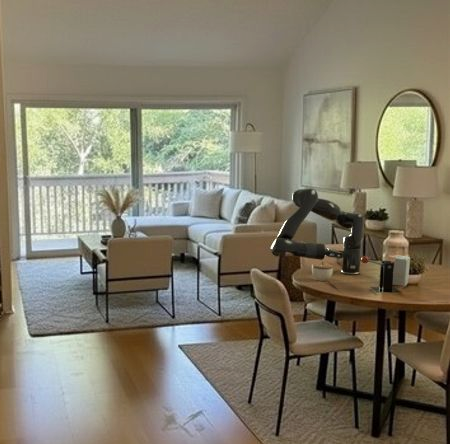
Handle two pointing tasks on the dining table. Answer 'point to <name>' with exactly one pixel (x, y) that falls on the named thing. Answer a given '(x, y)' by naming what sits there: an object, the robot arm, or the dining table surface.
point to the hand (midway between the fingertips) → (347, 254)
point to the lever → (366, 260)
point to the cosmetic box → (401, 270)
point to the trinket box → (322, 271)
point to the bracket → (386, 278)
